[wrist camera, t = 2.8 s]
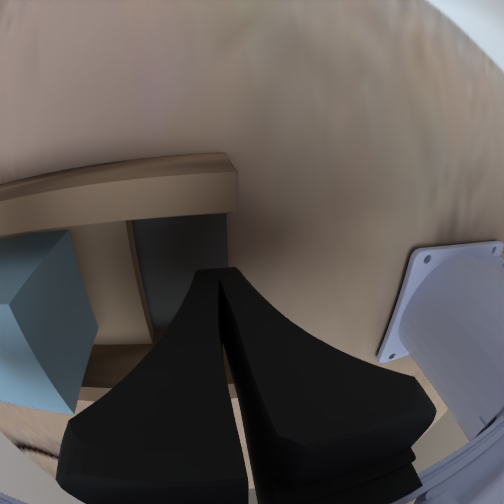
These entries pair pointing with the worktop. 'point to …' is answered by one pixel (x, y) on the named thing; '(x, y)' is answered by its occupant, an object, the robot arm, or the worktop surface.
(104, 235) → the walnut channel
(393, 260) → the worktop surface
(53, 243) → the blue block
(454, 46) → the worktop surface
